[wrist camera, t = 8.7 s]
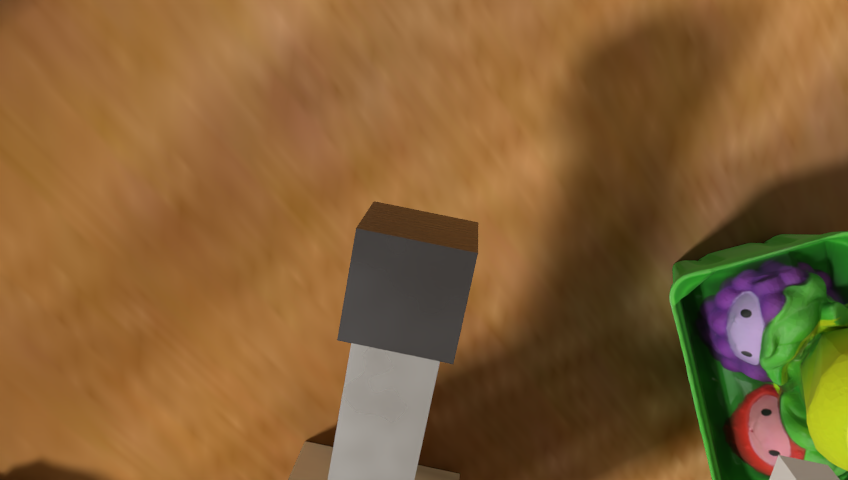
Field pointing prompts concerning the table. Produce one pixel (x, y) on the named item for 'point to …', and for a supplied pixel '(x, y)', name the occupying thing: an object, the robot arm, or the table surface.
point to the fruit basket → (768, 352)
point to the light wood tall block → (316, 460)
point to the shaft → (398, 335)
